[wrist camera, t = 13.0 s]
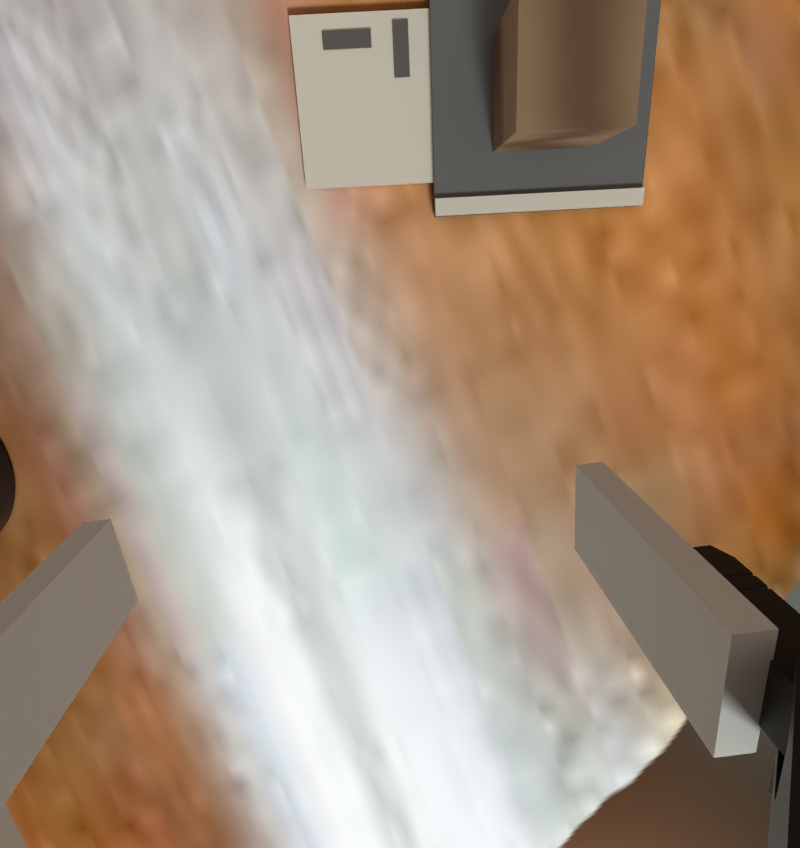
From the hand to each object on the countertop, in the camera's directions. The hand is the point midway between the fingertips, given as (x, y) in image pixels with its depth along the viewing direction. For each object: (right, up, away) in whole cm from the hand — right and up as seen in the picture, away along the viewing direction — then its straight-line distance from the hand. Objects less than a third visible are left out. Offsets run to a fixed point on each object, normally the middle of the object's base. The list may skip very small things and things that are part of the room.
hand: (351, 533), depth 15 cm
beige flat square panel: (0, +22, +16) cm, 28 cm away
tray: (+10, +23, +16) cm, 30 cm away
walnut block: (+10, +23, +16) cm, 29 cm away
